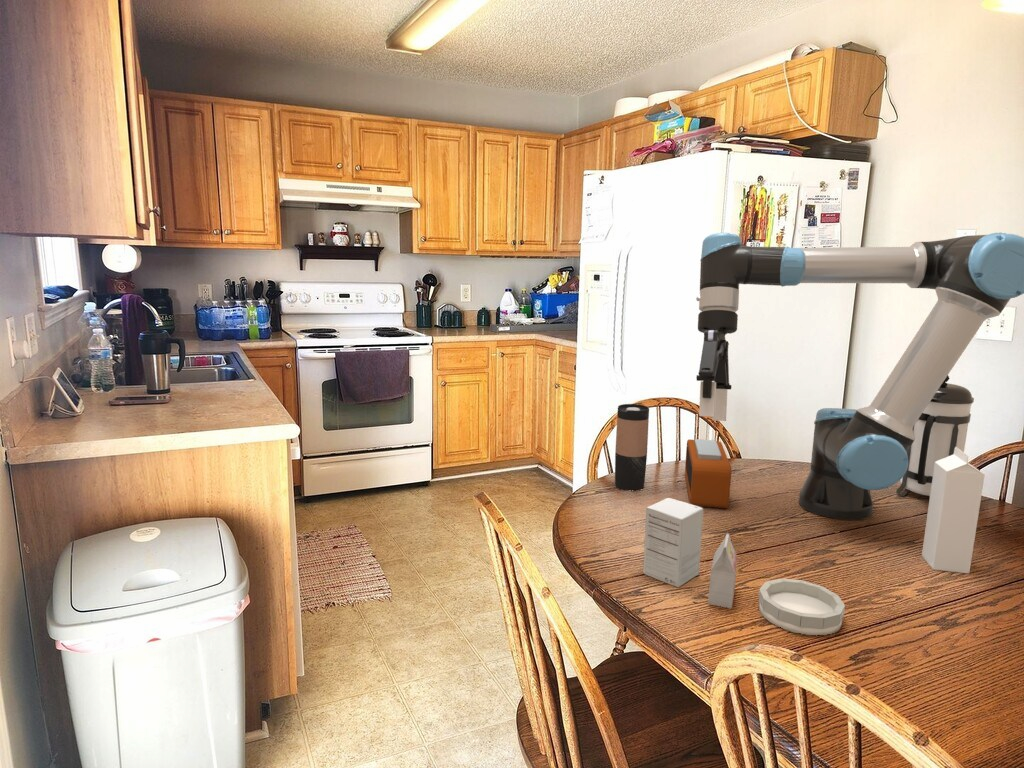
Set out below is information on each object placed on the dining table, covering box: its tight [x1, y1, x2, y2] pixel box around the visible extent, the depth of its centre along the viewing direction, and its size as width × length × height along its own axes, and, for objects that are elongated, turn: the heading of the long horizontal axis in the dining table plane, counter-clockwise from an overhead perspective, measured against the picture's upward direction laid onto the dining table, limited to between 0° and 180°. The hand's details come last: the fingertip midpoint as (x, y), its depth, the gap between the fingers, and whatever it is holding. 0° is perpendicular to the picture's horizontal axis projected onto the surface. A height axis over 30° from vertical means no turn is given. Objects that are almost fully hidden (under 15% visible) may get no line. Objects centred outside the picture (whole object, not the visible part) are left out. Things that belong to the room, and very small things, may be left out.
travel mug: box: [614, 403, 650, 492], centre depth 161 cm, size 8×8×20 cm
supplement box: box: [642, 497, 704, 588], centre depth 116 cm, size 7×7×13 cm
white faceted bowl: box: [758, 578, 846, 637], centre depth 104 cm, size 12×12×3 cm
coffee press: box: [896, 374, 975, 497], centre depth 156 cm, size 17×16×30 cm
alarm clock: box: [684, 438, 732, 509], centre depth 160 cm, size 24×8×11 cm, turn 169°
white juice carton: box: [707, 533, 738, 609], centre depth 109 cm, size 4×7×10 cm, turn 158°
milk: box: [921, 447, 985, 574], centre depth 121 cm, size 6×6×22 cm
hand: (713, 418), depth 130 cm, fingers open, 13 cm apart
